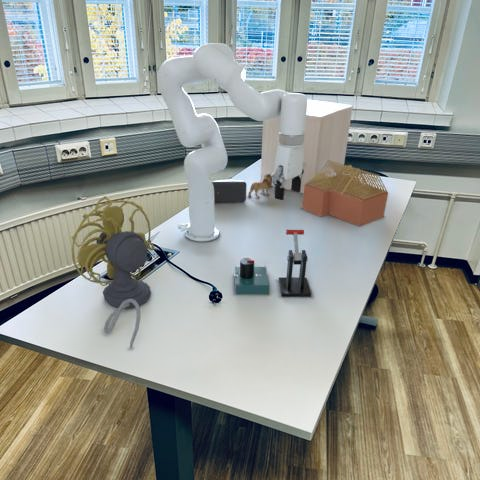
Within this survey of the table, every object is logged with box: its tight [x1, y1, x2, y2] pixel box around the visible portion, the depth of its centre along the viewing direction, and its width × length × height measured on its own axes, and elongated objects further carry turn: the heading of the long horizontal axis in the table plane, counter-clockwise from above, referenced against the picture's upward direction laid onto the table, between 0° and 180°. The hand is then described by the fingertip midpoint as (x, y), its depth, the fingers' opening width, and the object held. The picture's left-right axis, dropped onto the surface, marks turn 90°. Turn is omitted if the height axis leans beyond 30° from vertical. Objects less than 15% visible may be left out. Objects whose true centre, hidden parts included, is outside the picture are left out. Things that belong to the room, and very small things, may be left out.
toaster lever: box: [285, 229, 305, 266], centre depth 142 cm, size 12×6×2 cm
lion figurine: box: [247, 174, 272, 199], centre depth 212 cm, size 15×5×9 cm, turn 137°
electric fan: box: [71, 195, 155, 349], centre depth 125 cm, size 26×32×30 cm
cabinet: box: [259, 99, 354, 194], centre depth 225 cm, size 35×29×34 cm
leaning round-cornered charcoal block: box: [212, 179, 247, 204], centre depth 205 cm, size 16×5×9 cm, turn 96°
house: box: [301, 160, 389, 227], centre depth 194 cm, size 28×23×19 cm
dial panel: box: [233, 266, 270, 295], centre depth 146 cm, size 11×12×3 cm
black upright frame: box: [278, 249, 312, 298], centre depth 142 cm, size 10×9×12 cm
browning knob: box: [239, 257, 255, 279], centre depth 144 cm, size 4×4×5 cm
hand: (287, 195), depth 148 cm, fingers open, 9 cm apart
